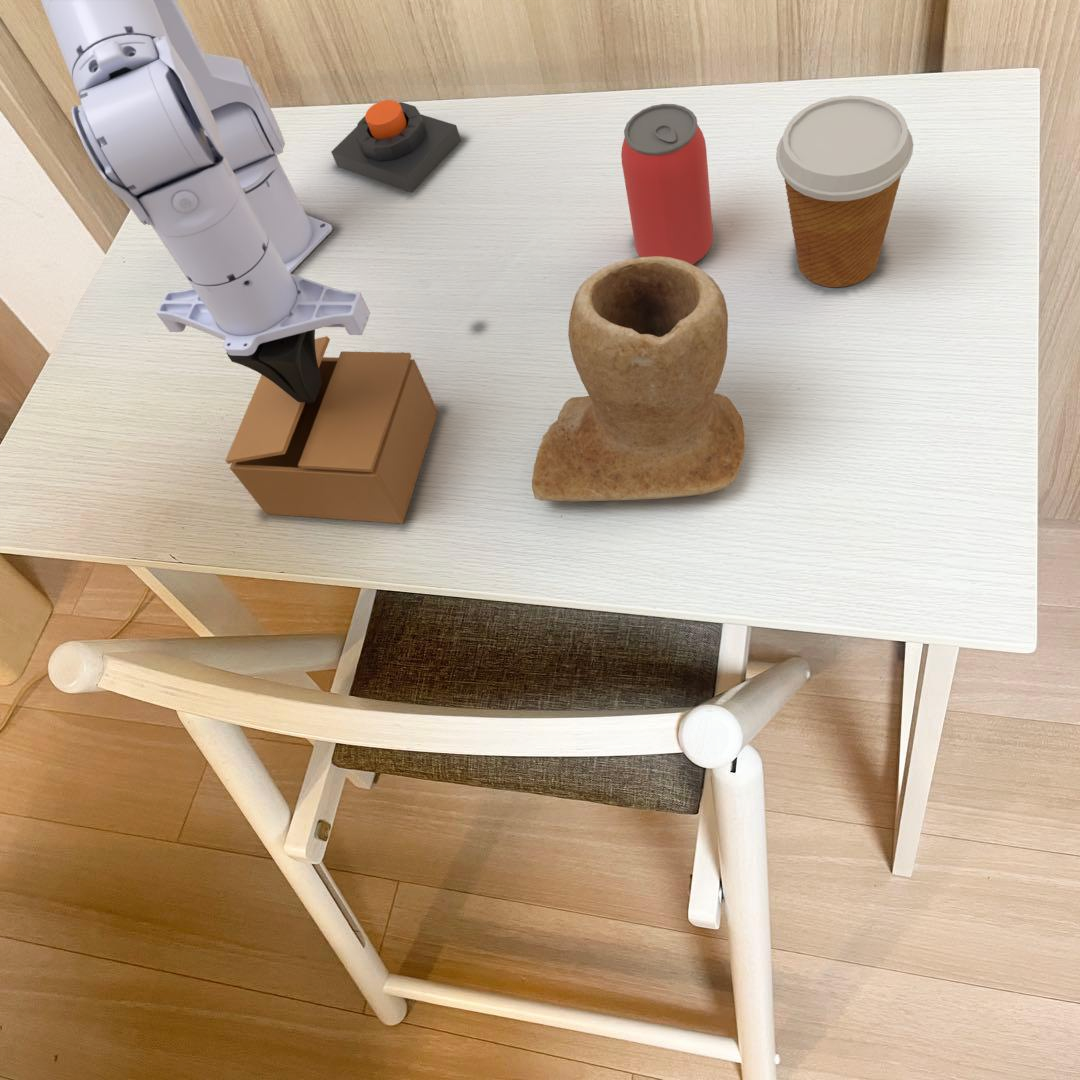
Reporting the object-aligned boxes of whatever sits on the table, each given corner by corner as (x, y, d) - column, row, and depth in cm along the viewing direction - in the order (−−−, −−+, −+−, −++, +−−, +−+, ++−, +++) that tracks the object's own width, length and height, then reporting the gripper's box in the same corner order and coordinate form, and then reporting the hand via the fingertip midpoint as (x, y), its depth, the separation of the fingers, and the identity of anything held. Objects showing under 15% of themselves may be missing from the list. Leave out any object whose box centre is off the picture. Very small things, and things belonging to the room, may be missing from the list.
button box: (337, 167, 103) (324, 138, 100) (387, 118, 106) (376, 87, 103) (411, 193, 98) (400, 163, 96) (461, 141, 101) (451, 110, 98)
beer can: (661, 286, 86) (644, 168, 76) (622, 242, 89) (601, 125, 79) (728, 249, 86) (721, 128, 76) (687, 208, 90) (674, 86, 80)
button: (363, 134, 100) (357, 119, 98) (386, 111, 101) (381, 96, 99) (391, 143, 98) (385, 128, 97) (414, 120, 99) (408, 104, 98)
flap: (228, 464, 76) (224, 461, 76) (275, 352, 81) (272, 349, 81) (285, 454, 73) (281, 450, 73) (330, 339, 78) (327, 335, 78)
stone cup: (745, 379, 79) (737, 229, 66) (745, 510, 73) (737, 372, 60) (552, 389, 82) (510, 248, 70) (537, 515, 76) (488, 386, 64)
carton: (265, 514, 82) (224, 461, 76) (307, 406, 87) (272, 349, 81) (403, 523, 78) (371, 470, 72) (438, 411, 83) (411, 352, 77)
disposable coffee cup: (763, 294, 83) (760, 173, 73) (794, 212, 87) (795, 87, 77) (884, 311, 80) (898, 186, 70) (911, 224, 84) (928, 95, 74)
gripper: (100, 299, 64) (204, 431, 75) (310, 301, 60) (386, 440, 71) (144, 219, 67) (236, 357, 79) (345, 215, 63) (412, 361, 75)
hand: (310, 391), depth 75 cm, fingers closed
